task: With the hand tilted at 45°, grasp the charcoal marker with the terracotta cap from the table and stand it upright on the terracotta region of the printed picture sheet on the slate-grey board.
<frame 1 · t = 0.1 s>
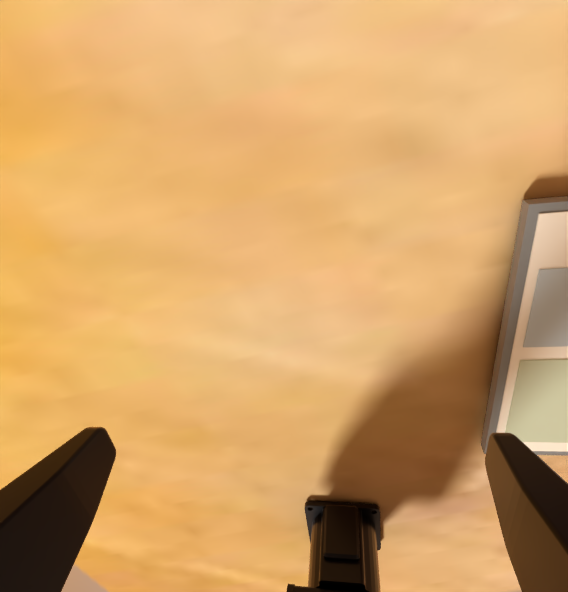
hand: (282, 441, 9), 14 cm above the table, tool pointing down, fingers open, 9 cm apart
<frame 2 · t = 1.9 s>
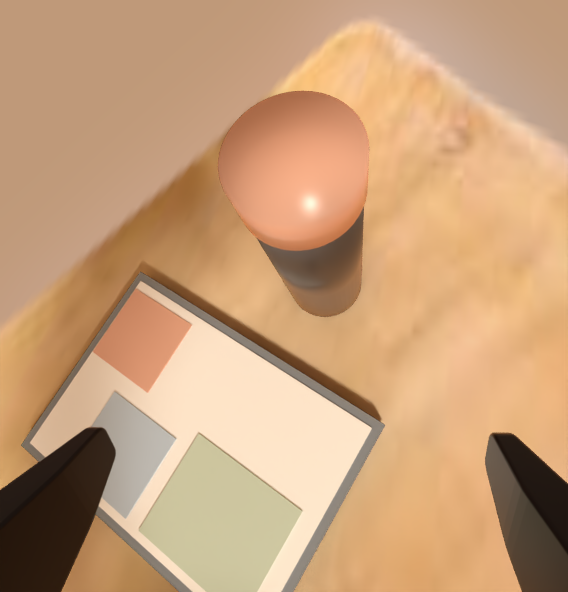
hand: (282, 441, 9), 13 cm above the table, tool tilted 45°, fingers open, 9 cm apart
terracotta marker: (325, 282, 24), on the table
picture board: (194, 434, 23), on the table
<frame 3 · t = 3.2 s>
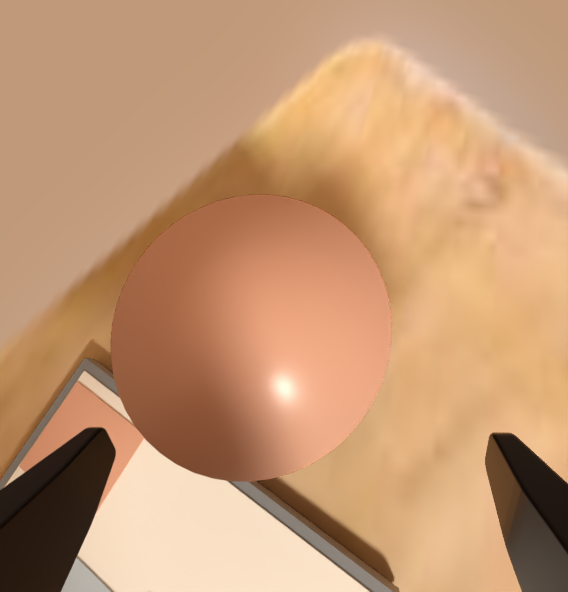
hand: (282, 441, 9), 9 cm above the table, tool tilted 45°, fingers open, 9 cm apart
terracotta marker: (319, 378, 18), on the table
picture board: (145, 586, 17), on the table
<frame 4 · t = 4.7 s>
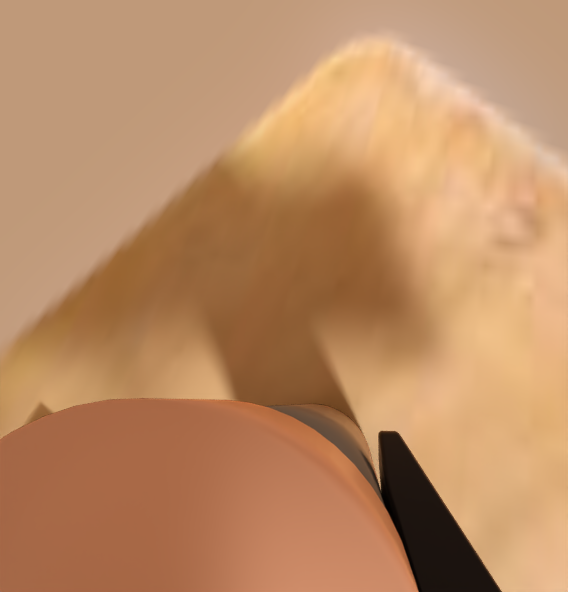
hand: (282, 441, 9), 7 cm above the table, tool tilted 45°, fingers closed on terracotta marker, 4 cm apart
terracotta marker: (313, 462, 15), on the table, touching gripper
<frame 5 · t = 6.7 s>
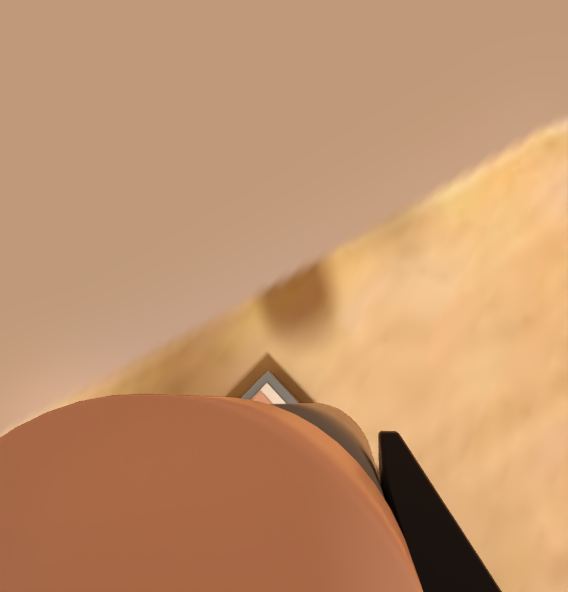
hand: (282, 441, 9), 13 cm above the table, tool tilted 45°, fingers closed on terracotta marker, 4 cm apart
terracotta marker: (314, 462, 15), point 7 cm above the table, touching gripper
picture board: (299, 586, 20), on the table
when the fingers open (9 cm above the table, at t = 8.5 s): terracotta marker stays where it is, resting on picture board.
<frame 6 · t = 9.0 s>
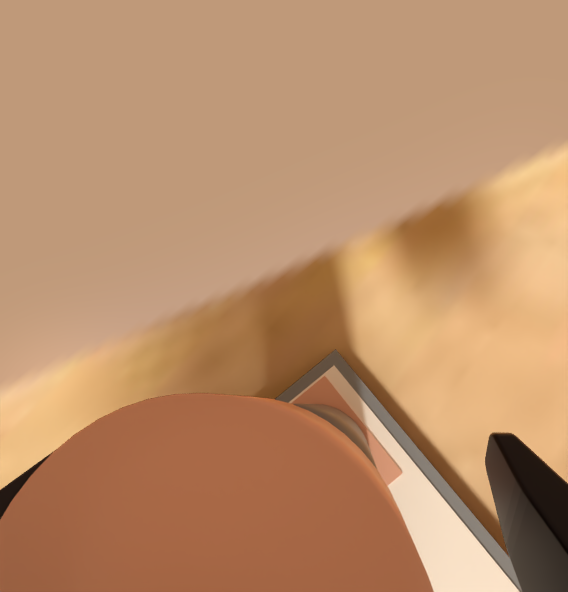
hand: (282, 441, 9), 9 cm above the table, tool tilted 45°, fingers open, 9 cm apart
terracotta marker: (316, 459, 16), point 1 cm above the table, touching picture board
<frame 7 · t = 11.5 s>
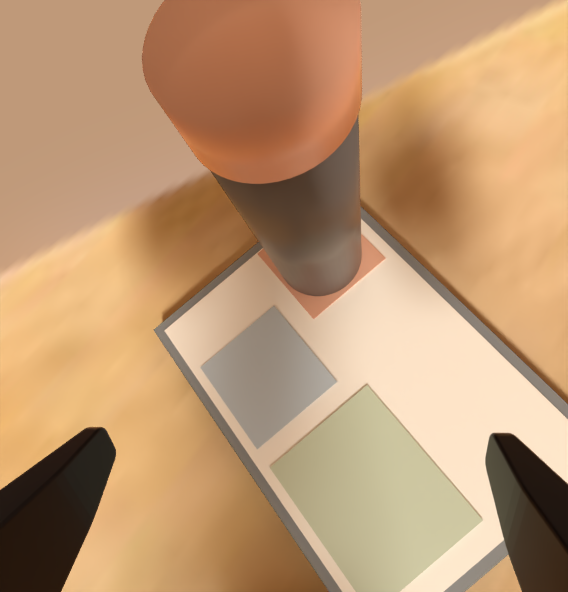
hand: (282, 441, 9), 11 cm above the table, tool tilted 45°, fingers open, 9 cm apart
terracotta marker: (318, 255, 20), point 1 cm above the table, touching picture board
picture board: (352, 384, 19), on the table
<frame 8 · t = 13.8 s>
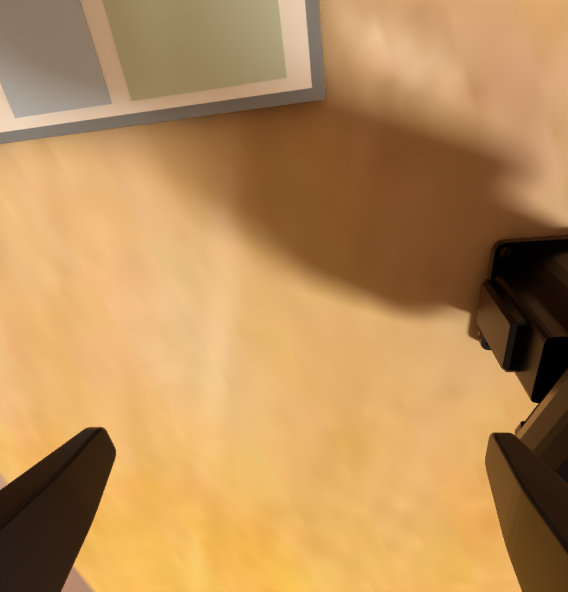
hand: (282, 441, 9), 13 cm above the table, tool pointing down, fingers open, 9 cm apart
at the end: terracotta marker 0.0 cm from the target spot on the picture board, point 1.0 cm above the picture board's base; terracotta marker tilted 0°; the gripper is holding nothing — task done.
